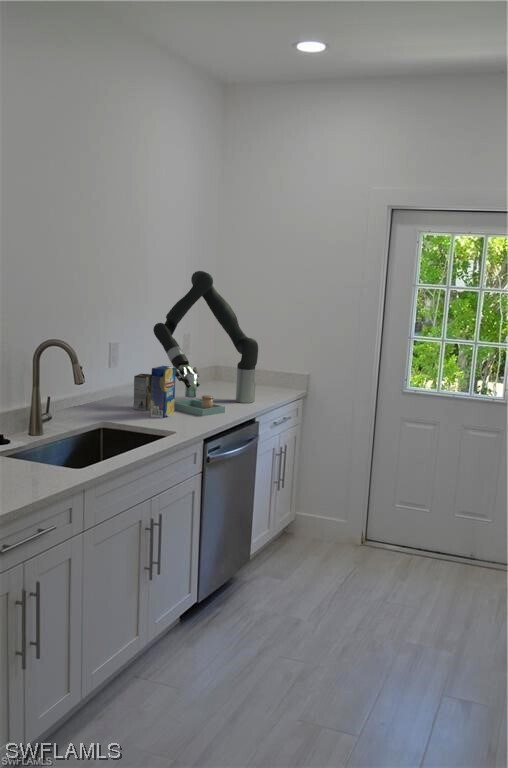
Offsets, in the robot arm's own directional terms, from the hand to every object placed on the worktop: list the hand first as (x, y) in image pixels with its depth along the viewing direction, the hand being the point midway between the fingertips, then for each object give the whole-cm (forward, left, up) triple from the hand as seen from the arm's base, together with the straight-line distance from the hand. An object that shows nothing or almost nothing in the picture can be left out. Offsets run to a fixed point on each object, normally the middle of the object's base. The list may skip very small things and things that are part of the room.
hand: (193, 386), depth 353 cm
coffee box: (+15, -18, -12) cm, 27 cm away
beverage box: (+18, -1, -12) cm, 22 cm away
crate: (0, +3, -12) cm, 12 cm away
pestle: (0, +9, -11) cm, 14 cm away
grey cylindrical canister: (0, -2, -5) cm, 6 cm away
